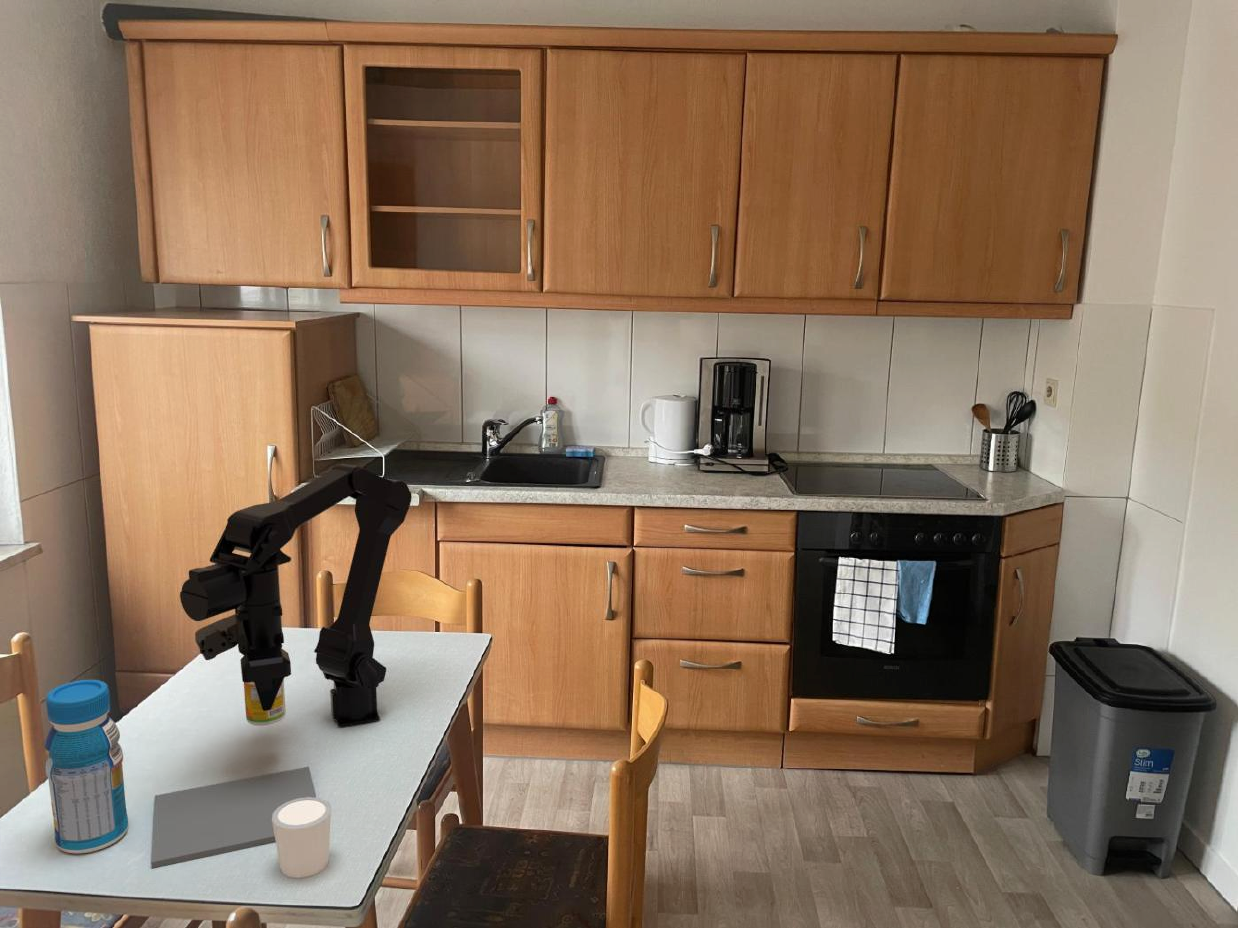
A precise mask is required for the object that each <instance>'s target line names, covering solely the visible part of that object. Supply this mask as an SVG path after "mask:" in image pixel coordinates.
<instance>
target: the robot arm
mask: <svg viewBox="0 0 1238 928" xmlns="http://www.w3.org/2000/svg"><path fill="white" fill-rule="evenodd" d="M348 497H349V498H351V499H354V500H355V506H354V514H355V518H356V521H357V525H358V529H359V530H358V535H357V539H356V542H355V543H356V544H355V548H354V551H353V556H352V560H351V563H350V567H349V572H348V576H347V580H346V582H345V588H344V591H343V596H342V600H341V604H340V608H339V613H338V616H337V619H335V620H334V622H333V623H332V624H331V625H330V626H329V627H325V626H323V627H321V629H320V631H319V635H318V642H317V644H316V647H315V648H314V651H313V652H314V653H315V654H316V657H315V664H316V665H317V667H318V668H319V670H320V671H321V672H322V674H323V676H324V679H325V680H327V681H329V680H330V681H333V688H331V689H330V691H329V694H330V695H329V696H330V710H331V715H332V718H333V720H335V721H336V724H337V727H338V728H339V727H340V728H341V727H342V728H343V727H348V726H353V725H359V724H360V725H361V724H366V723H372V722H378V721H380V720H381V719H380V718H381V717H380V713H379V712H378V700H377V699H378V698H377V695H378V694H377V688H378V687H379V685H380V684H381V683H383V682H384V681H385V678H386V674H387V673H386V672H387V667H385V666H384V665H383V664H382V663H381V662H379V661H378V660H376V659H375V658H374V651H375V640H374V636H373V634H372V633H373V631H372V630H371V626H370V623H371V619H372V614H373V610H374V606H375V602H376V598H377V593H378V591H379V590H378V589H379V586H380V582H381V577H382V573H383V569H384V566H385V561H386V557H387V554H388V553H387V552H388V549H389V546H390V545H389V544H390V540H391V538H392V535H393V534H394V533H395V532H396V531H397V530H398V529H399V527H401V526H402V524H403V523H404V522H405V519H406V517H407V514H408V512H409V509H410V507H411V503H412V492H411V491H410V489H409V486H408V484H406V482H404V481H401V480H397V479H391V478H390V479H389V478H384V477H382V476H380V475H378V474H375V473H372V472H371V471H369V470H367V469H365V468H363V467H362V466H357V465H352V464H346V463H341V464H337V465H334V467H332V469H331V470H330V471H328V472H326V473H324V474H323V475H321V476H319V477H317V478H316V479H314V480H312V481H310V482H309V483H307V484H305V485H303V486H301V487H300V488H298V489H295V490H294V491H292V492H291V493H288V494H287V495H285V496H284V497H282V498H280V499H277V500H274V501H272V502H266V503H261V504H260V503H259V504H253V505H251V506H248V507H246V508H245V507H244V508H243V509H238V510H237V511H235V512H233V513H232V514H231V515H230V516H229V517H228V518H227V523H226V525H225V528H224V531H223V532H222V534H221V536H220V538H219V540H218V542H217V543H216V545H215V548H214V550H213V552H212V554H211V556H210V557H209V562H210V563H212V565H208V566H204V567H196V568H193V569H189V571H188V579H187V580H185V581H184V583H183V584H182V587H181V591H180V592H179V599H180V603H181V607H182V609H183V610H184V612H185V614H186V615H187V616H188V617H189V618H190V619H191V620H193V621H194V622H201V621H205V620H208V619H210V618H213V617H215V616H219V615H221V614H224V613H228V612H229V611H233V610H234V614H232V615H230V616H227V617H223V618H221V619H219V620H217V621H215V622H212V623H210V624H208V625H205V626H203V627H201V628H199V629H197V630H196V632H195V633H194V636H195V637H194V640H195V642H196V643H195V644H196V645H197V647H198V649H199V653H200V654H201V655H202V656H203V658H204V660H205V661H211V660H213V659H215V658H216V657H217V656H218V655H220V654H223V653H225V652H227V651H229V650H231V649H233V648H235V647H237V648H238V653H240V654H241V655H243V656H242V658H240V670H241V671H240V672H241V680H242V682H243V683H244V682H246V683H249V682H254V684H255V687H256V690H257V693H258V696H259V700H260V703H261V706H262V710H263V711H267V710H271V708H272V706H273V703H274V701H275V698H276V696H277V694H278V691H279V689H280V686H281V684H282V682H283V680H284V679H285V678H288V677H290V676H291V675H292V667H291V666H292V665H291V663H292V662H291V659H290V655H289V652H288V651H286V650H285V649H284V648H283V644H285V636H284V633H283V625H282V624H283V623H282V621H283V620H282V616H283V607H282V604H281V590H280V574H279V573H280V572H279V566H281V565H283V564H288V563H290V562H291V561H292V557H291V556H289V555H288V554H286V553H285V552H283V551H282V550H281V549H282V548H283V547H285V546H286V545H287V544H288V543H289V542H290V541H291V540H292V539H293V537H294V534H296V530H297V529H298V528H300V526H303V525H304V524H305V523H307V522H309V521H310V520H312V519H314V518H315V517H318V516H319V515H320V514H322V513H324V512H325V511H327V510H328V509H330V508H332V507H334V506H335V505H337V504H338V503H341V502H342V501H343V500H345V499H346V498H348ZM234 551H238V552H242V553H243V552H244V553H247V554H249V556H246V555H242V554H239V553H234ZM284 681H285V680H284Z"/></svg>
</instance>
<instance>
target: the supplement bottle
mask: <svg viewBox="0 0 1238 928" xmlns="http://www.w3.org/2000/svg"><path fill="white" fill-rule="evenodd" d="M243 689H244V690H243V691H244V692H243V694H244V707H245V718H246V721H247V723H248V724H249V725H253V726H257V727H258V726H259V727H262V726H263V727H264V726H271V725H274V724H277V723H279V722H281V721H282V720H283V719H284V718H285V717H286V713H287V712H286V711H287V710H286V709H287V708H286V695H285V680H283V682H282V684H281V686H280V689H279V691H278V694H277V696H276V698H275V701H274V703H273V706H272V708H271V710H267V711H263V710H262V706H261V703H260V700H259V696H258V693H257V690H256V687H255V684H254V682H249V683H246V682H243Z"/></svg>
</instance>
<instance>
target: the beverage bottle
mask: <svg viewBox="0 0 1238 928" xmlns="http://www.w3.org/2000/svg"><path fill="white" fill-rule="evenodd" d="M110 698H111V697H110V689H109V687H108V684H107V683H106V682H104V681H102V680H99V679H81V680H80V679H79V680H76V681H75V680H74V681H71V682H70V681H69V682H67V683H63V684H60V685H59V686H57V687H54V688H53V689H52V690H50V691H49V692H48V693H47V695H46V700H45V702H46V711H47V712H46V713H47V718H48V720H49V722H50V723H51V724H52V726H51V728H50V730H49V731H48V734H47V736H46V739H45V742H44V753H45V755H46V756H47V757H48V758H47V760H46V761H45V774H46V777H47V778H48V786H49V794H50V795H49V796H50V802H51V803H50V804H51V809H52V810H51V811H52V818H53V826H54V841H55V844H56V846H57V848H58V849H59V850H61V851H62V852H65V853H69V854H86V853H92V852H96V851H100V850H102V849H105V848H107V847H109V846H111V845H114V844H115V843H116V842H118V841H119V840H120V839H122V838H123V836H125V834H126V833H127V831H128V828H129V817H128V811H127V803H126V793H125V792H126V791H125V782H124V781H125V780H124V771H123V769H124V767H123V761H124V751H123V748H122V746H121V745H120V743H119V740H120V738H121V733H120V729H119V728H118V726H117V724H116V722H115V720H113V719H112V718H111V716H109V715H108V713H110V710H111V699H110Z"/></svg>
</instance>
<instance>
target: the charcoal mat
mask: <svg viewBox="0 0 1238 928" xmlns="http://www.w3.org/2000/svg"><path fill="white" fill-rule="evenodd" d="M311 773H312V772H311V769H310V766H305V767H300V768H294V769H289V770H284V771H279V772H278V771H277V772H273V773H268V774H267V773H266V774H263V775H262V774H261V775H257V776H252V777H245V778H241V779H235V780H231V781H226V782H219V783H215V784H214V783H213V784H209V785H208V784H207V785H204V786H198V787H194V788H188V789H182V790H177V791H176V790H175V791H172V792H166V793H160V794H157V795H156V794H155V795H154V803H153V806H154V807H153V821H152V822H153V824H152V825H153V827H152V841H151V842H152V843H151V859H150V860H151V861H150V863H151V869H156V868H159V867H164V866H168V865H174V864H178V863H182V862H186V861H193V860H196V859H197V860H198V859H200V858H206V857H211V856H215V855H220V854H225V853H228V852H235V851H239V850H244V849H248V848H252V847H257V846H262V845H267V844H270V843H272V844H273V843H276V840H275V834H274V829H273V823H272V815H273V813H274V811H275V810H276V809H277V808H278V807H279V806H281V805H283V804H284V803H286V802H289V801H292V800H295V799H298V798H306V797H312V798H318V797H317V794H316V790H315V786H314V782H313V777H312V774H311Z"/></svg>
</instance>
